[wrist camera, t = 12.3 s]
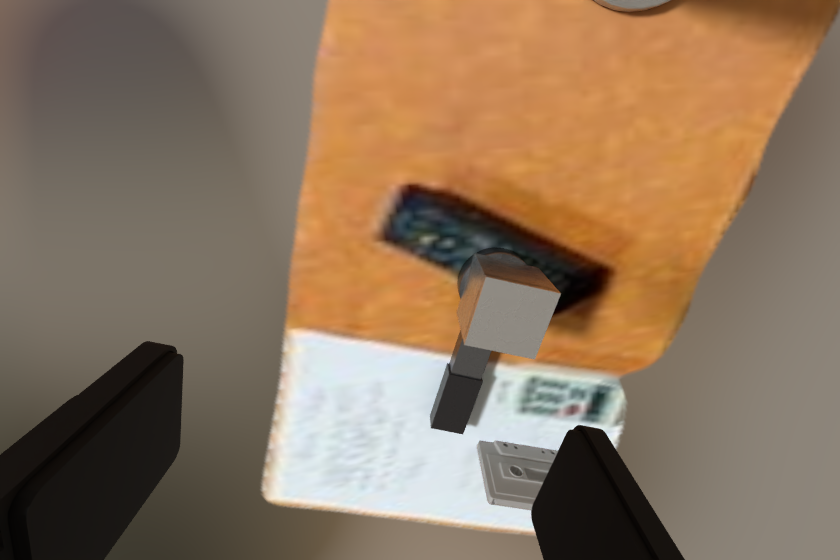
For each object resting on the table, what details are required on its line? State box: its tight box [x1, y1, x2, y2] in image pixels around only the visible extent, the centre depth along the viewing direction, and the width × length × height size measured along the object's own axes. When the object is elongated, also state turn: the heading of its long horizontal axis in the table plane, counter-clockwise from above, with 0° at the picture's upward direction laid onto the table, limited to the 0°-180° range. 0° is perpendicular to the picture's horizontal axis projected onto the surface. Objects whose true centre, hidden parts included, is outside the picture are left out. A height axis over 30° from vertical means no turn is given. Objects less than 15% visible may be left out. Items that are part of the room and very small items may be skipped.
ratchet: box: [430, 248, 527, 434], centre depth 38 cm, size 20×7×6 cm, turn 165°
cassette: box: [477, 441, 558, 510], centre depth 43 cm, size 12×2×8 cm, turn 78°
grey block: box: [457, 253, 561, 359], centre depth 34 cm, size 6×6×6 cm
